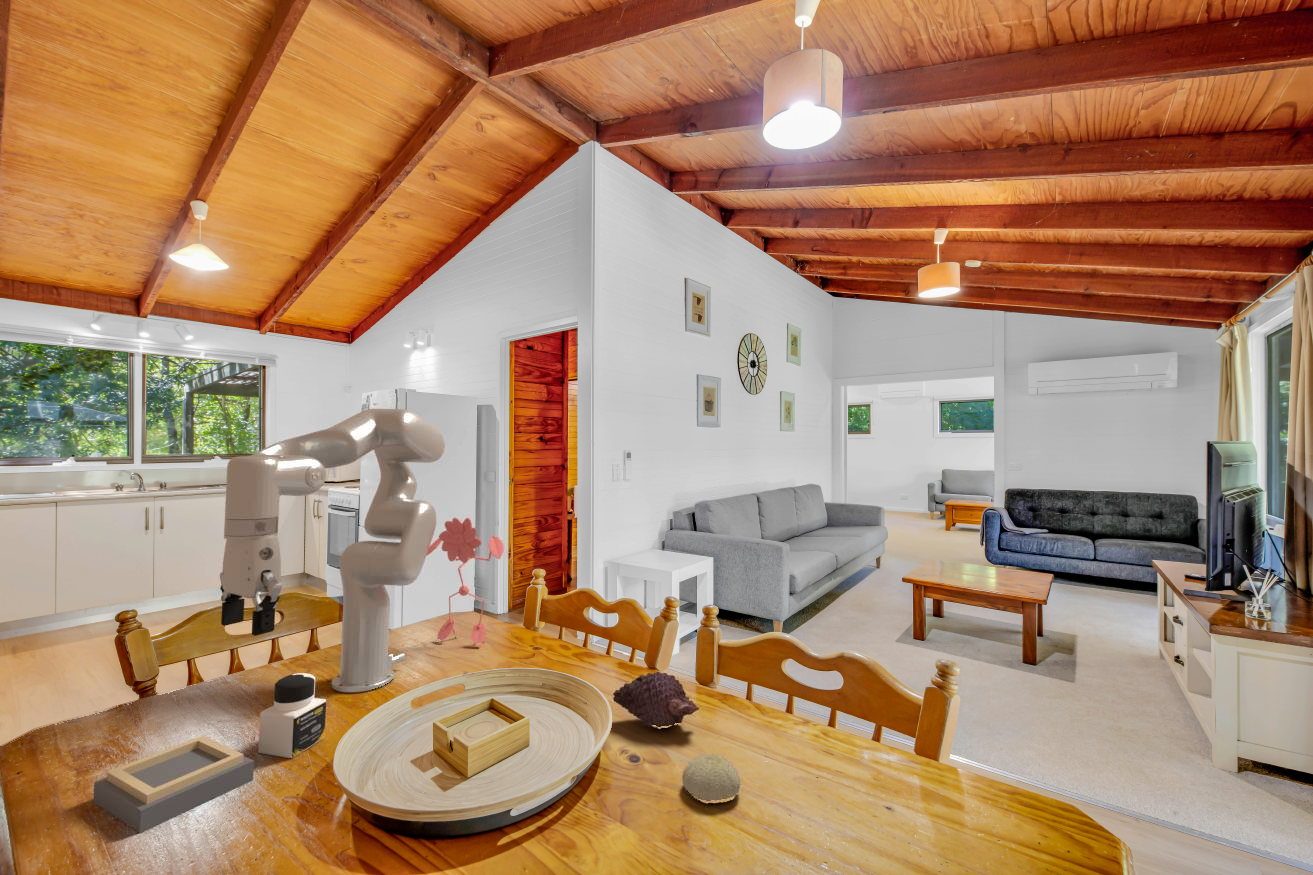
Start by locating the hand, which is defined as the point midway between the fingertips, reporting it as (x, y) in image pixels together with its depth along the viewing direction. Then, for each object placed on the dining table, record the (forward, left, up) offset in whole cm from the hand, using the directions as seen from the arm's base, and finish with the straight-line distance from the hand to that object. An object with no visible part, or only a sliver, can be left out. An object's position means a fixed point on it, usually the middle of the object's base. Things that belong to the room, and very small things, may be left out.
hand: (247, 628), depth 95 cm
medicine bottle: (-6, +4, -22) cm, 23 cm away
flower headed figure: (-56, -9, -22) cm, 61 cm away
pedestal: (+10, +2, -22) cm, 24 cm away
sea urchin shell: (-29, +74, -22) cm, 83 cm away
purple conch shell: (-44, +57, -22) cm, 75 cm away
